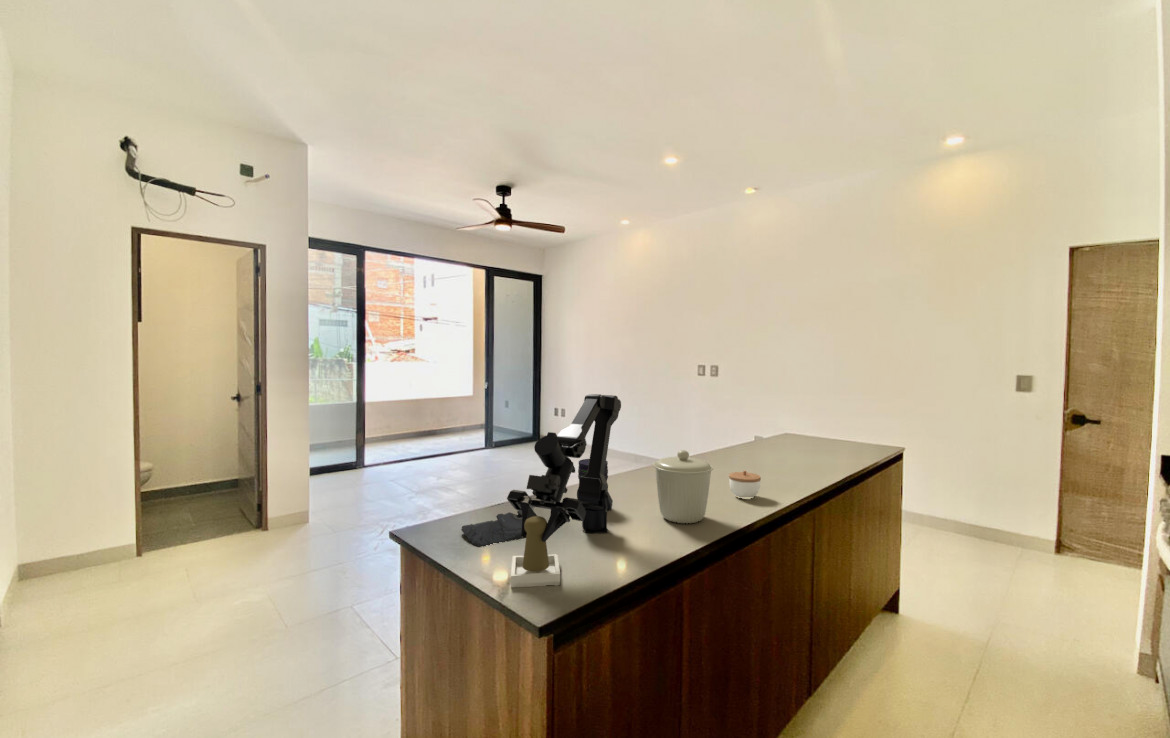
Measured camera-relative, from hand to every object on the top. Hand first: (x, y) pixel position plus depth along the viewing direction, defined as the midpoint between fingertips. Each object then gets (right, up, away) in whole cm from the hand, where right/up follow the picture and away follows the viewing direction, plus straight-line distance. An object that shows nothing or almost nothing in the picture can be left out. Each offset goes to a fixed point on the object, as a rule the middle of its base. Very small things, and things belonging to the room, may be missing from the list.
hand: (532, 539), depth 111 cm
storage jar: (+14, -8, +52) cm, 55 cm away
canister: (+42, -8, +41) cm, 59 cm away
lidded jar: (+68, -8, +64) cm, 94 cm away
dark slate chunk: (-12, -9, +29) cm, 32 cm away
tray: (0, -9, +1) cm, 9 cm away
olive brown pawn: (+1, -7, +2) cm, 7 cm away
